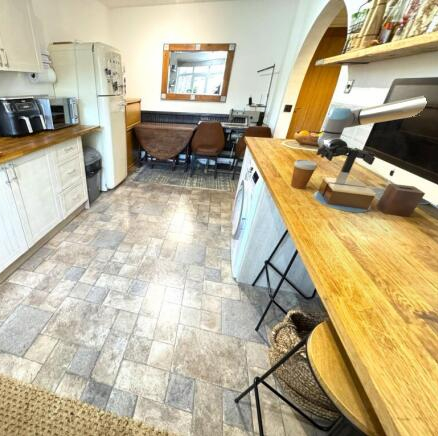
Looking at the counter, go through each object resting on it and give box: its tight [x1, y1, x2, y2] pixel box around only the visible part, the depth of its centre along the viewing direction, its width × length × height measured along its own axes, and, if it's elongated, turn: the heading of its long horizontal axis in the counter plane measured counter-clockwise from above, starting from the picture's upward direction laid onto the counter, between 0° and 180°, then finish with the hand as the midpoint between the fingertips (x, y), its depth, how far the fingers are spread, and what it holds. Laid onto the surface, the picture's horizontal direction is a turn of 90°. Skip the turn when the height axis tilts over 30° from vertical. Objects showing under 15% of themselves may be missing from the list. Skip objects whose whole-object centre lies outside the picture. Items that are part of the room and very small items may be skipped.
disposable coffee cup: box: [290, 159, 318, 190], centre depth 113 cm, size 10×10×12 cm
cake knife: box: [335, 148, 359, 185], centre depth 98 cm, size 3×2×21 cm, turn 71°
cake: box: [313, 176, 377, 214], centre depth 101 cm, size 20×20×8 cm
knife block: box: [376, 183, 426, 218], centre depth 93 cm, size 8×7×10 cm
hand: (351, 159), depth 94 cm, fingers open, 13 cm apart
